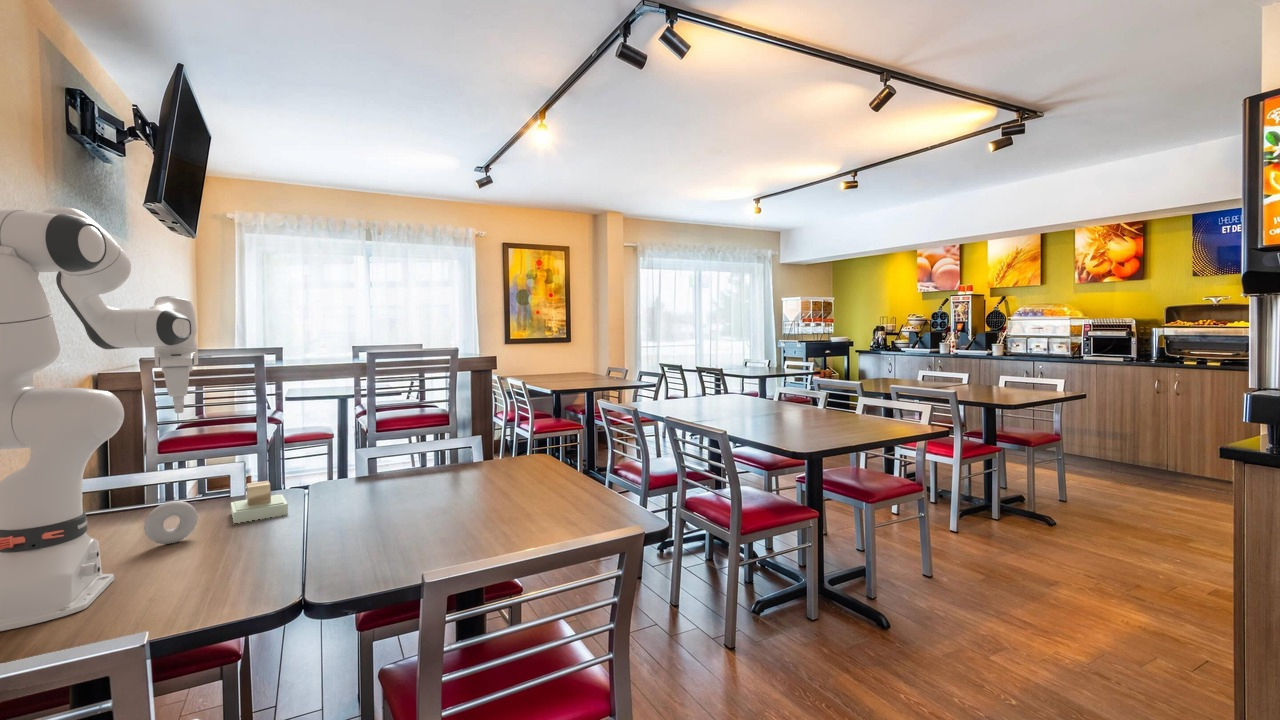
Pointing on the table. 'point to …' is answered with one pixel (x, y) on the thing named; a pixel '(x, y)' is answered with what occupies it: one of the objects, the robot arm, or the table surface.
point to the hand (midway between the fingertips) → (179, 411)
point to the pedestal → (259, 509)
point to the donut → (160, 513)
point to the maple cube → (258, 493)
